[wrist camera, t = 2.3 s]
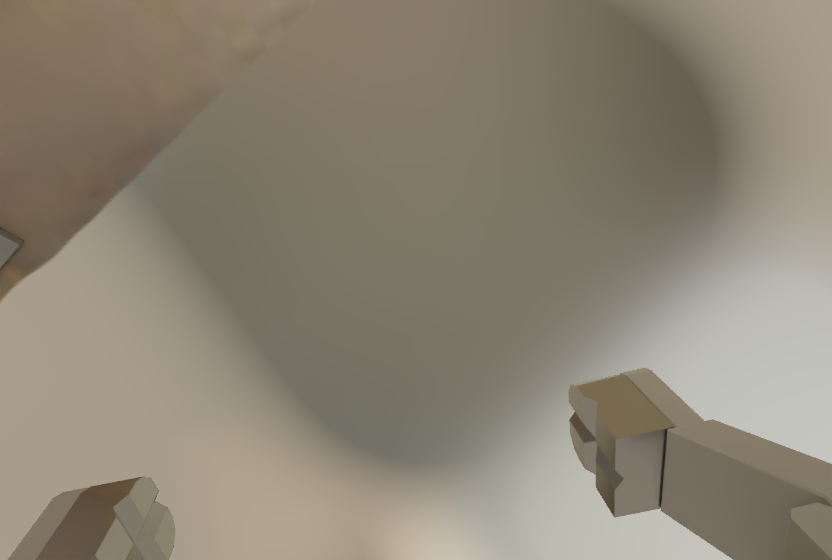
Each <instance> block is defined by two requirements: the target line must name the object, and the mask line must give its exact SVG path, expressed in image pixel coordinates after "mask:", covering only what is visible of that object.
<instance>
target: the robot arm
mask: <svg viewBox="0 0 832 560" xmlns="http://www.w3.org/2000/svg"><path fill="white" fill-rule="evenodd" d="M569 403H570V404H571V406H572V407H573V409H574V410H575V413H574V414H573V416H572V417H571V419H570V433H571V438H572V442H573V445H574V449H575V451H576V453H577V455H578V457H579V459H580V461H581V463H582V464H583V466H584V468H585V469H586V470H588V471H590V472H592V473H594V474H596V488H597V490H598V491H599V493H600V495H601V496H602V498H603V499H604V501H605V503H606V504H607V506H608V508H609V509H610V511H611V513H612V514H613V516H614V517H619V516H624V515H629V514H634V513H640V512H644V511H650V510H655V509H660V508H661V511H662V512H664V513H665V514H666V515H668V516H669V517H671V518H672V519H674V520H675V521H677V522H678V523H680V524H681V525H683V526H684V527H686V528H687V529H689V530H690V531H692V532H693V533H695V534H696V535H698V536H699V537H701V538H702V539H704V540H705V541H707V542H708V543H710V544H711V545H713V546H714V547H716V548H717V549H718V550H720V551H722V552H723V553H724V554H726V555H727V556H729V557H731V558H732V559H733V560H832V464H830V463H827V462H825V461H822V460H819V459H817V458H814V457H811V456H809V455H806V454H803V453H801V452H798V451H795V450H792V449H790V448H787V447H785V446H782V445H779V444H777V443H774V442H771V441H768V440H766V439H763V438H761V437H758V436H755V435H753V434H750V433H747V432H745V431H742V430H739V429H737V428H734V427H731V426H729V425H726V424H723V423H721V422H718V421H715V420H708V421H704V420H703V419H702V418H701V417H700V416H699V415H698V414H697V413H696V412H694V411H693V410H692V409H691V408H690V407H689V406H688V405H687V404H686V403H685V402H684V401H683V400H682V399H681V398H680V397H679V396H678V395H676V394H675V393H674V392H673V391H672V390H671V389H670V388H669V387H668V386H667V385H666V384H665V383H664V382H663V381H662V380H661V379H660V378H659V377H657V376H656V375H655V374H654V373H653V372H652V371H651V370H649V369H647V368H642V369H637V370H633V371H629V372H625V373H620V374H619V375H614V376H610V377H605V378H600V379H596V380H591V381H587V382H582V383H578V384H573V385H570V389H569ZM158 491H159V490H158V489H157V487H156V485H155V484H154V482H153V480H152V479H151V478H147V477H139V478H134V479H128V480H123V481H118V482H112V483H107V484H102V485H97V486H91V487H89V488H84V489H78V490H74V491H68V492H63V493H61V494H60V495H58V496H56V497H55V498H53V499H52V501H51V502H50V503H49V504H48V506H47V507H46V509H45V510H44V511H43V513H42V514H41V515H40V517H39V518H38V520H37V521H36V522H35V524H34V525H33V526H32V528H31V529H30V530H29V532H28V533H27V534H26V536H25V537H24V538H23V540H22V541H21V543H20V544H19V545H18V547H17V548H16V549H15V551H14V552H13V553H12V555H11V556H10V557H9V559H8V560H169V558H170V555H171V552H172V550H173V547H174V537H175V526H174V521H173V517H172V515H171V513H170V511H169V509H168V507H166V506H164V505H162V504H160V503H158V502H156V501H155V499H156V497H157V494H158Z"/></svg>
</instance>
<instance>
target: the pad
mask: <svg viewBox="0 0 832 560" xmlns="http://www.w3.org/2000/svg"><path fill="white" fill-rule="evenodd" d="M23 242H24V241H22V240H20V239H19V238H17V237H15V236H13V235H12V234H10V233H8V232H6V231H4V230H3V229H1V228H0V269H1V268H2V267H3V266H4V265H5V263H6V262H7V261H8V260H9V259H10V258H11V256H12V255H13V254H14V253H15V252H16V250H17V249H18V248H19V247H20V246H21V245H22V243H23Z"/></svg>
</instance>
